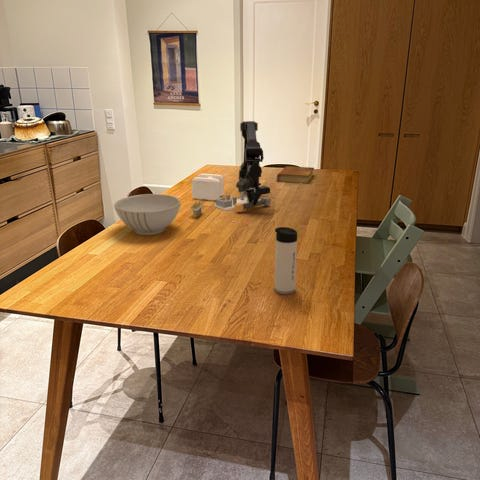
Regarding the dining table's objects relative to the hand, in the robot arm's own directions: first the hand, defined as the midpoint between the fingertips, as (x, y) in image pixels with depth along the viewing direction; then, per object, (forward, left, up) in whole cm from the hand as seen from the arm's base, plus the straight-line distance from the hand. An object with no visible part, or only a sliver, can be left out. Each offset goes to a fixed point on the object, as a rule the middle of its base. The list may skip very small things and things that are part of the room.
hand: (252, 204), depth 219 cm
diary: (-62, -33, -3) cm, 70 cm away
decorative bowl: (+53, -4, -3) cm, 53 cm away
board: (0, -11, -2) cm, 11 cm away
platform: (+26, -8, -3) cm, 28 cm away
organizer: (+5, -30, -3) cm, 31 cm away
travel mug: (+47, +71, -2) cm, 85 cm away
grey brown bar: (0, 0, -1) cm, 1 cm away
